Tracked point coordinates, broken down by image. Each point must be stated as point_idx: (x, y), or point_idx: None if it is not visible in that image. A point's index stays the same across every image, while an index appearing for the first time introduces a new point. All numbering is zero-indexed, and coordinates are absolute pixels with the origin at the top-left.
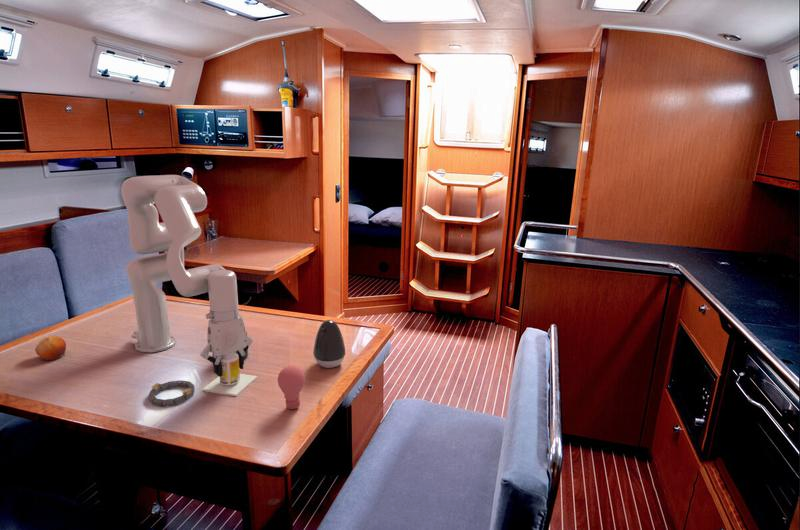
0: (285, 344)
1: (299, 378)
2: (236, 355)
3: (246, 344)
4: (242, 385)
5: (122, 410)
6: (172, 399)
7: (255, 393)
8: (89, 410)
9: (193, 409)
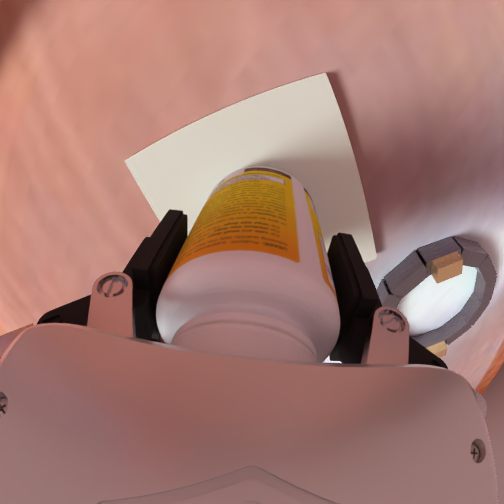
0: (7, 289)
1: None
2: (180, 308)
3: (13, 344)
4: (235, 130)
5: (500, 314)
6: (482, 265)
7: (229, 21)
8: (497, 346)
9: (480, 166)
